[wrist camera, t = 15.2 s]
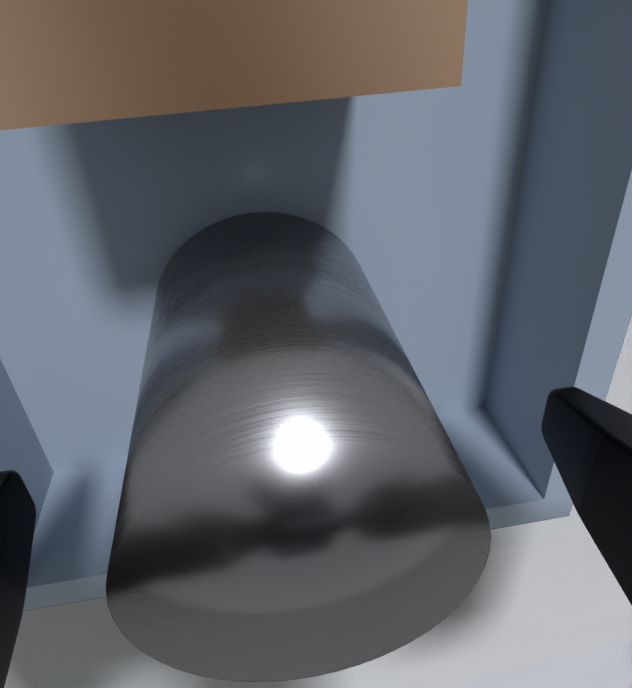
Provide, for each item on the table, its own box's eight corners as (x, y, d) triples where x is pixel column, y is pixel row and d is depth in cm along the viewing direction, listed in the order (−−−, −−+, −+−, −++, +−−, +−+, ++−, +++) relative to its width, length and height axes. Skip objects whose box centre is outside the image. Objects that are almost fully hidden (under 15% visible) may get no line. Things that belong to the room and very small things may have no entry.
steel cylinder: (368, 199, 12) (517, 411, 6) (368, 382, 15) (470, 645, 9) (130, 225, 11) (47, 482, 6) (178, 409, 14) (155, 707, 8)
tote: (682, -649, 7) (1109, -1216, 4) (499, 410, 17) (568, 515, 14) (-550, -707, 6) (-1639, -1683, 2) (38, 480, 15) (-9, 617, 12)
